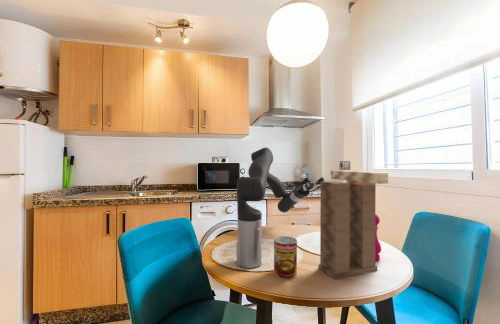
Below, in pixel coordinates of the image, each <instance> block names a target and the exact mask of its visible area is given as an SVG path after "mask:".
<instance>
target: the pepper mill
mask: <svg viewBox="0 0 500 324" xmlns="http://www.w3.org/2000/svg"><path fill="white" fill-rule="evenodd" d="M379 224H380V217H379V215H378V214H377V213H375V262H380V260H381V255H380V253H381V252H382V246H381V243H380V241H379V239H378V230H379Z"/></svg>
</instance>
